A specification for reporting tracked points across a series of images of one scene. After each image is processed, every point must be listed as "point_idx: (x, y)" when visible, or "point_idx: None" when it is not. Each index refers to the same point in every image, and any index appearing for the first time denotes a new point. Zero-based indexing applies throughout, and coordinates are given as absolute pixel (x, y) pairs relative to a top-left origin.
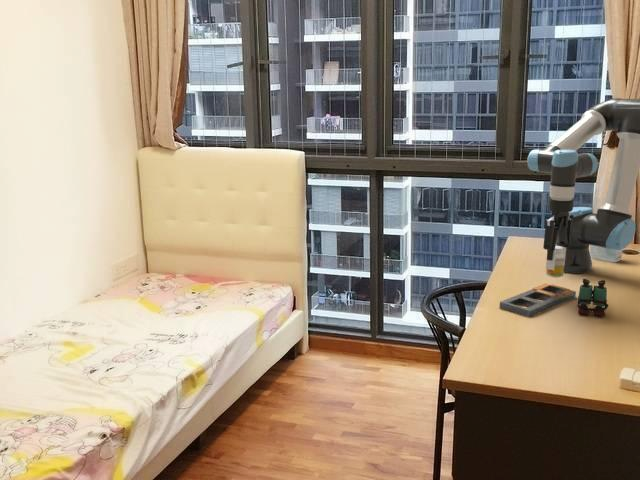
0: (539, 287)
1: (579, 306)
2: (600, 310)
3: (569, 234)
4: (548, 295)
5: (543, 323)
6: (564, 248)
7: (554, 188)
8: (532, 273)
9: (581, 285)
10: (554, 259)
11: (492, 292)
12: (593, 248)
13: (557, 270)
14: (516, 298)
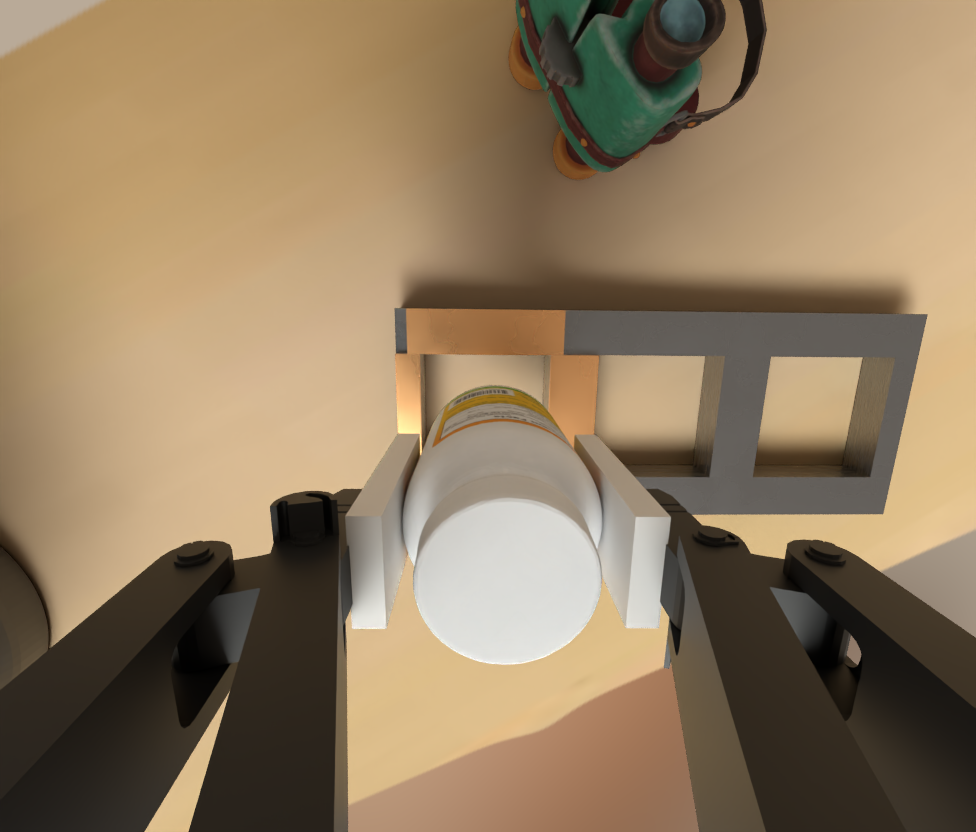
0: None
1: (753, 75)
2: None
3: (115, 677)
4: (596, 388)
5: (940, 205)
6: (383, 518)
7: None
8: None
9: (664, 98)
10: (622, 471)
11: (662, 647)
12: None
13: (550, 416)
14: (771, 485)
